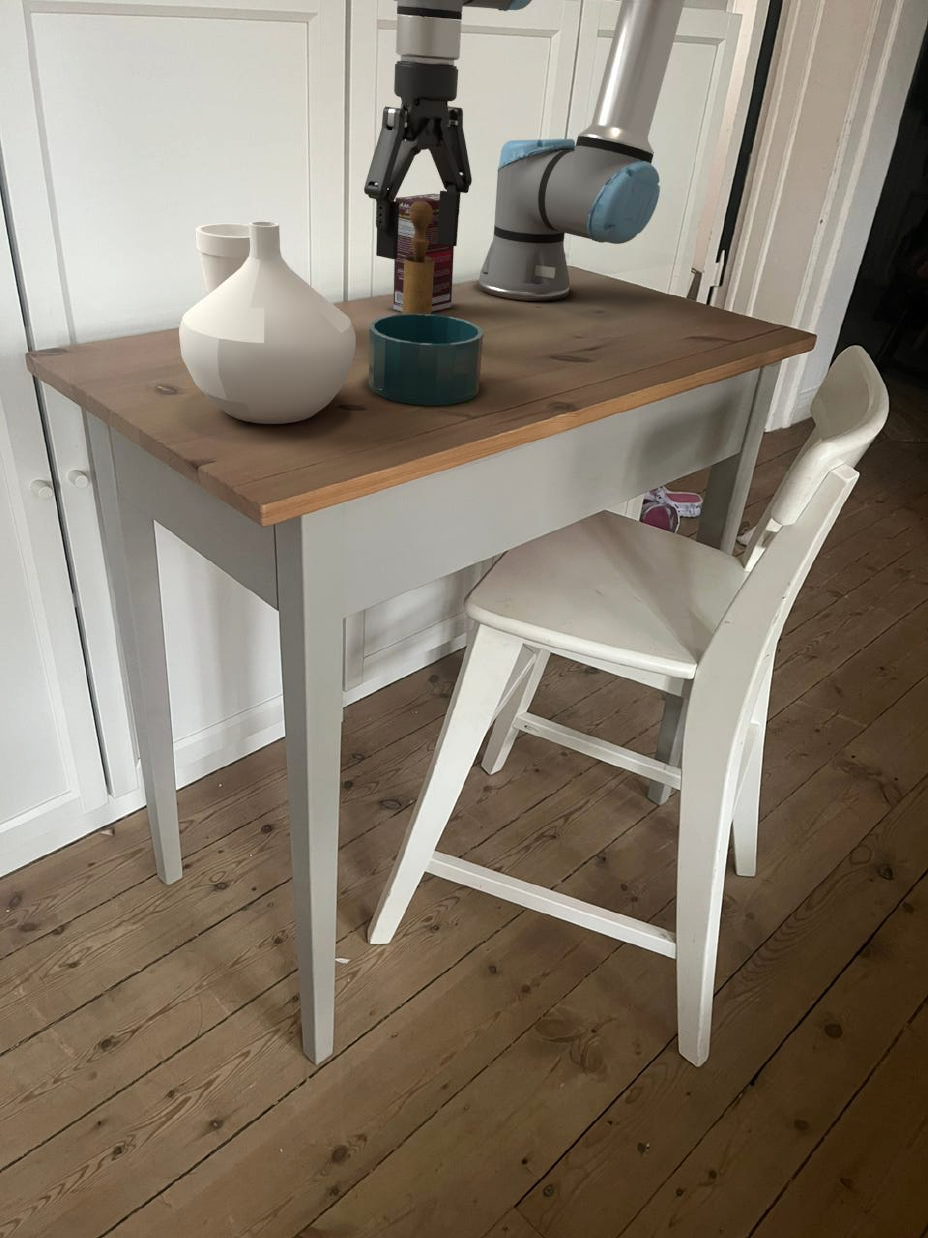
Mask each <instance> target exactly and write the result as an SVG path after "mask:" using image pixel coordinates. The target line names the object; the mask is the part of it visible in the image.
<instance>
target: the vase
mask: <svg viewBox="0 0 928 1238" xmlns="http://www.w3.org/2000/svg"><path fill="white" fill-rule="evenodd" d="M248 225H249V231H250V254H249V257H248V258H247V260H246V261H245V263H244V264H243V265H242V267H241V268H240V269H239V270H237V271H236V272H235V273H234V274H233V275H232V276H230V277H229V278H228V279H227V280H226V281H225V282H223V283H222V284H221V285H220V286H219V287H218V288H216V289H215V290H214V291H213V292H211V293H210V294H209V295H208V294H207V295H206V296H204V298H203V299H201V300H199V301H198V303H196V304H195V305H193V306H192V307H191V308H190V309H188V310H187V311H186V312H185V313H184V314H183V315H182V318H181V321H180V325H179V329H178V333H179V334H178V339H179V346H180V347H179V348H180V354H181V358H182V361H183V363H184V364H185V366H186V368H187V370H188V372H189V374H190V376H191V378H192V380H193V382H194V384H195V385H196V386H197V387H198V389H199V390H200V391H201V392H202V393H203V395H205V396H206V397H207V399H208V400H209V401H210V402H211V403H212V404H213V405H214V406H215V407H217V408H218V409H220V410H221V411H223V412H224V413H226V414H227V415H229V416H231V417H233V418H234V419H237V420H240V421H244V422H247V423H248V422H249V423H254V424H264V425H265V424H266V425H278V424H280V425H281V424H290V423H291V424H292V423H297V422H301V421H304V420H306V419H309V418H311V417H313V416H315V415H316V414H317V413H319V412H320V411H322V409H324V408H325V407H327V406H328V405H329V404H331V402H332V401H333V399H334V398H335V397H336V396H337V394H339V393H340V391H342V389H343V386H344V384H345V382H346V379H347V377H348V374H349V372H350V370H351V367H352V365H353V363H354V360H355V357H356V342H357V341H356V340H357V335H356V333H355V329H354V327H353V324H352V321H351V319H350V317H349V316H348V315H347V314H346V313H344V312H343V311H342V310H340V309H339V308H338V306H335V305H334V304H333V303H332V302H331V301H329V300H328V299H327V298H325V296H323V295H322V294H321V293H319V292H318V291H317V290H316V289H315V288H314V287H312V286H311V285H310V284H309V283H308V282H307V281H305V279H303V278H302V277H301V276H300V275H298V274H297V273H296V272H295V271H294V270H293V269H292V268H291V267H290V266H289V265H288V263H287V262H286V260H285V259H284V257H283V256H282V252H281V240H280V239H281V237H280V235H281V233H280V223H278V222H274V221H267V220H265V221H264V220H256V221H249V223H248Z"/></svg>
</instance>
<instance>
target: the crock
mask: <svg viewBox="0 0 928 1238" xmlns="http://www.w3.org/2000/svg"><path fill="white" fill-rule="evenodd" d="M483 331H484V330H483V329H482V328H481V327H480V326H479V325H477V324H476V323H474V322H471V321H468V320H466V319H463V318H458V317H454V316H449V315H444V314H443V315H442V314H435V313H431V314H420V313H410V314H402V313H396V314H388V315H385V316H381V317H378V318H375V319H374V320H372V321H370V323H369V333H368V334H369V336H368V337H369V341H368V342H369V344H368V386H369V388H370V390H371V391H372V392H373V393H374V394H376V395H378V396H380V397H381V398H384V399H386V400H390V401H394V402H397V403H401V404H406V405H416V406H430V407H431V406H432V407H433V406H449V405H456V404H460V403H464V402H467V401H469V400H471V399H473V398H475V397H476V396H477V395H478V393H479V387H480V381H481V369H482V357H483V356H482V355H483V343H484V332H483Z"/></svg>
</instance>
